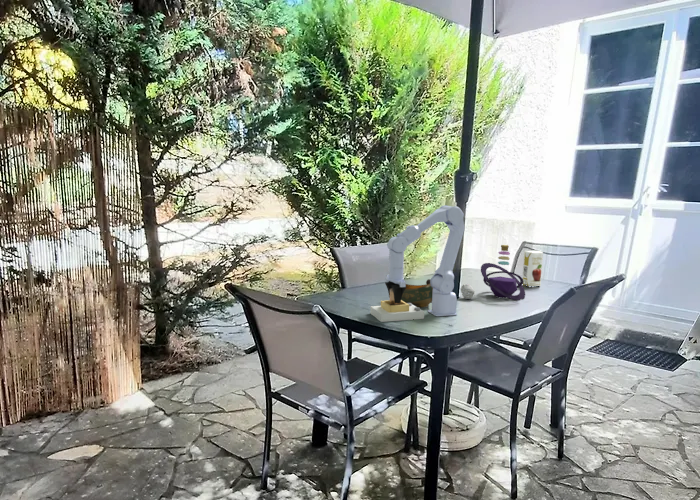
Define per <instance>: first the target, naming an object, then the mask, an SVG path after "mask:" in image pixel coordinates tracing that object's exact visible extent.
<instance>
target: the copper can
mask: <svg viewBox="0 0 700 500" xmlns="http://www.w3.org/2000/svg"><path fill="white" fill-rule="evenodd" d="M389 300H390V301H389V305H390V306H391V305H401V302H400V303H395V301H394V293H393V289H392V288H390V298H389Z"/></svg>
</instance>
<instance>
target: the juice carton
mask: <svg viewBox="0 0 700 500" xmlns="http://www.w3.org/2000/svg"><path fill="white" fill-rule="evenodd" d="M543 258H544V251H540V250H524V254H523V265H522V276H521V278H522V279H523V285H527V286H540V287H541V285H542V273H543ZM523 285H522V286H523Z"/></svg>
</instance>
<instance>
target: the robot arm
mask: <svg viewBox="0 0 700 500" xmlns="http://www.w3.org/2000/svg"><path fill="white" fill-rule="evenodd" d="M464 217H465V213H464V212H463V210H462V209H461V207H459V206H456V205H454V206H453V205H446V204H445V205H441V206H440V207H439V208H436V209H435V210H434V211H433V212H432V213H430V214H429V215H428V216H427V217H426V218H424V219H423V220H421V222H419V223H418V224H416V225H413V224H412V225H407V226H406V229H405V230H403V231H401V232H398V233H397V234H396V236H391V238H389V240H388V242H387V244H386V246H387V248H388V249H389V254H388V255H389V256H388V274H387V275H385V276H386V278H385V283H384V284H385V286H386V289H387V292H388V297H389V299H390V288H392V289H393V293H394V301H395V303H400V302H401V298H402V295H403V293H404V291H405V289H406V284H407V282H406V281H405V279H404V265H405V264H404V262H405V261H404V260H405V259H404V258H405V257H404V256H405V254H404V253H405V251H406V250H407V247H408V246H410V245H411V244H412V243H414V242H415V241H417V240H418V239H420V238H421V235H422V232H424V231H426V230H427V229H429V228H431V227H432V226H434V225H435V224H437V223H444V224H445V225H446V226H447V228H448V229H449V233H448V235H447V240H446V243H445V247H444V249H443V253H442V257H441V259H440V260H441V261H440V263H439V264H440V265H439V267H438V268H437V269H436V270H435V271H434V274H433V275H432V276H431V278H430V279H431V280H430V284H431V286H432V287H433V293H432V303H431V309H427V312H428V313H429V314H432V315H433V316H435V317H445V316H446V317H447V316H458V314H457V302H458V300H457V295H456V293H455V292H453V290H454V287H455V283H454V282H455V281H454V280H455V275H454V273H453V272H454V271H453V270H454V267H455V263H456V260H457V256H458V253H459V250H460V247H461V244H462V243H461V242H462V239H463V237H464V233H465V229H466V228H465V221H464Z"/></svg>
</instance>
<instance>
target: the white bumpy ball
mask: <svg viewBox="0 0 700 500" xmlns="http://www.w3.org/2000/svg"><path fill="white" fill-rule="evenodd" d="M460 292H461V295H462V297H463V299H466V300H470V299H472V298H473V296H475V289H474V288H473V286H472V285H470V284H468V283H464V284H462V285H461V286H460Z"/></svg>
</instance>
